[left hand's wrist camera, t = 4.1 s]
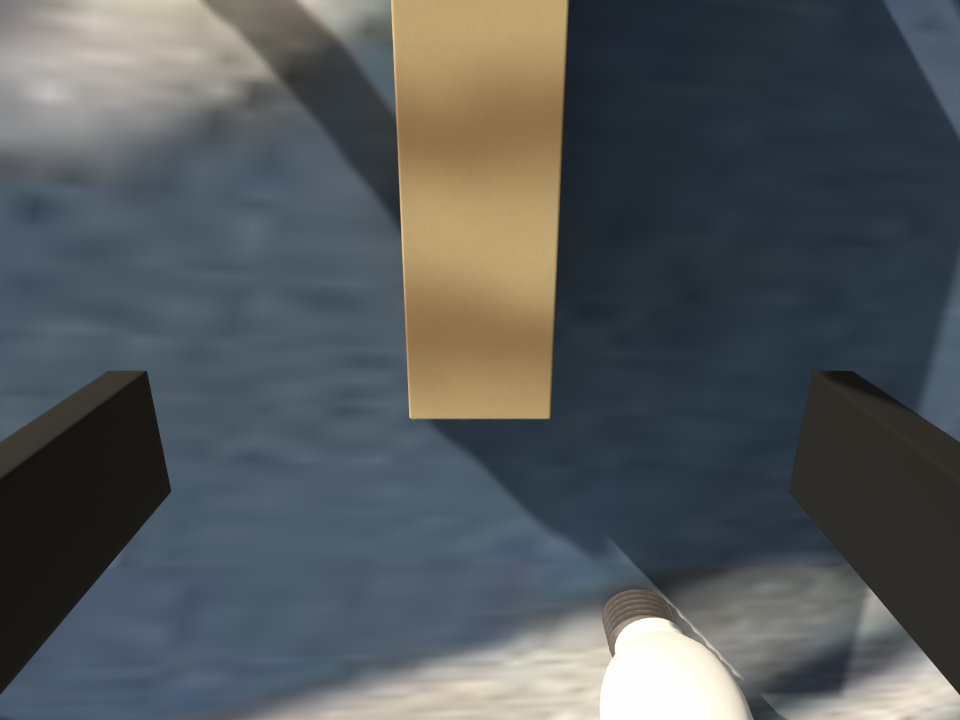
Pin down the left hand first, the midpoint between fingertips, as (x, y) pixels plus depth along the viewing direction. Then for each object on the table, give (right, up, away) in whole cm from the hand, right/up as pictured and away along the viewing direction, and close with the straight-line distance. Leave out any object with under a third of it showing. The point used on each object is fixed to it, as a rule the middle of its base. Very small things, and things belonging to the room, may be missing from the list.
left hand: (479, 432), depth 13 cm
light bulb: (+9, -13, +23) cm, 28 cm away
